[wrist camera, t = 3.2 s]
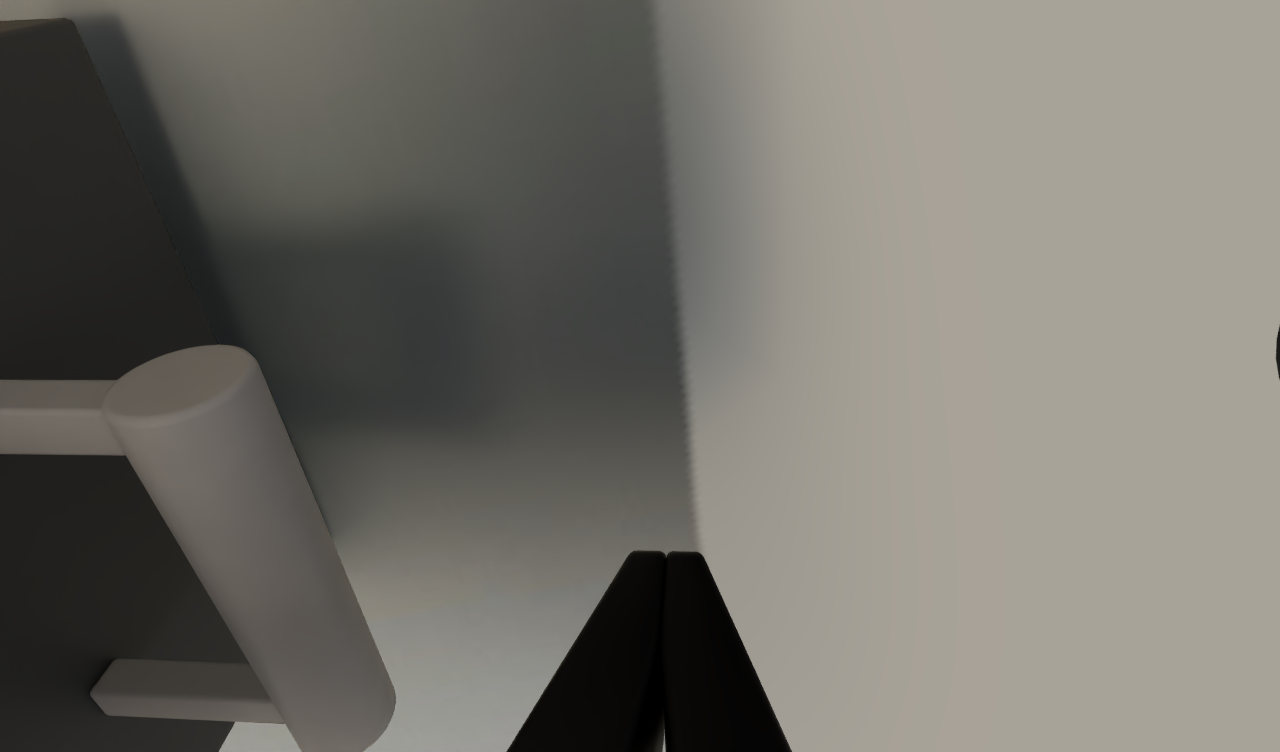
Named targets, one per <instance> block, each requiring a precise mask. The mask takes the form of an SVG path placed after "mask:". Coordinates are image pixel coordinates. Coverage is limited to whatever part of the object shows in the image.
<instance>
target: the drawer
mask: <svg viewBox="0 0 1280 752" xmlns="http://www.w3.org/2000/svg"><path fill="white" fill-rule="evenodd" d="M395 703H396V696H395V690H394V687H393V685H392V682H391V680H390V677H389V675H388V673H387V670H386V668H385V666H384V663H383V661H382V658H381V656H380V654H379V651H378V649H377V646H376V644H375V642H374V639H373V637H372V634H371V632H370V630H369V627H368V625H367V622H366V620H365V618H364V615H363V613H362V610H361V608H360V606H359V603H358V601H357V598H356V596H355V594H354V591H353V589H352V587H351V584H350V582H349V579H348V577H347V575H346V572H345V570H344V567H343V565H342V563H341V560H340V558H339V555H338V553H337V551H336V548H335V546H334V543H333V541H332V539H331V536H330V534H329V531H328V529H327V527H326V524H325V522H324V520H323V517H322V515H321V512H320V510H319V508H318V505H317V503H316V500H315V498H314V496H313V493H312V491H311V488H310V486H309V484H308V481H307V479H306V476H305V474H304V472H303V469H302V467H301V464H300V462H299V460H298V457H297V455H296V453H295V450H294V448H293V445H292V443H291V441H290V438H289V436H288V433H287V431H286V429H285V426H284V424H283V421H282V419H281V417H280V414H279V412H278V409H277V407H276V405H275V402H274V400H273V397H272V395H271V393H270V390H269V388H268V386H267V383H266V381H265V378H264V376H263V374H262V371H261V369H260V366H259V364H258V362H257V360H256V359H255V358H254V357H253V356H252V355H251V354H250V353H249V352H248V351H246V350H244V349H242V348H239V347H236V346H231V345H218V343H217V341H216V339H215V336H214V334H213V332H212V330H211V327H210V325H209V323H208V321H207V318H206V316H205V314H204V312H203V310H202V307H201V305H200V303H199V301H198V298H197V296H196V294H195V292H194V289H193V287H192V285H191V283H190V281H189V278H188V276H187V274H186V272H185V269H184V267H183V265H182V263H181V260H180V258H179V256H178V254H177V251H176V249H175V247H174V245H173V243H172V240H171V238H170V236H169V234H168V231H167V229H166V227H165V225H164V222H163V220H162V218H161V216H160V214H159V211H158V209H157V207H156V205H155V202H154V200H153V198H152V196H151V193H150V191H149V189H148V187H147V184H146V182H145V180H144V178H143V176H142V173H141V171H140V169H139V167H138V164H137V162H136V160H135V158H134V155H133V153H132V151H131V149H130V147H129V144H128V142H127V140H126V138H125V135H124V133H123V131H122V129H121V126H120V124H119V122H118V120H117V117H116V115H115V113H114V111H113V109H112V106H111V104H110V102H109V100H108V97H107V95H106V93H105V91H104V88H103V86H102V84H101V82H100V79H99V77H98V75H97V73H96V71H95V68H94V66H93V64H92V62H91V59H90V57H89V55H88V53H87V50H86V48H85V46H84V44H83V42H82V39H81V37H80V35H79V33H78V30H77V28H76V26H75V24H74V23H73V21H72V20H69V19H66V18H58V19H36V20H15V21H0V752H219V750H220V748H221V746H222V744H223V743H224V741H225V739H226V737H227V736H228V734H229V732H230V730H231V729H232V727H233V725H234V723H235V722H254V723H275V724H286V726H287V727H288V729H289V731H290V733H291V734H292V736H293V738H294V739H295V741H296V743H297V744H298V746H299V748H300V749H301V750H302V752H362V751H364V750H366V749H367V748H368V747H370V746H371V745H372V744H373V743H374V742H375V741H376V740H377V739H378V738H379V737H380V736H381V735H382V734H383V732H384V731H385V730H386V728H387V726H388V725H389V723H390V720H391V718H392V715H393V712H394V709H395Z"/></svg>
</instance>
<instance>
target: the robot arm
mask: <svg viewBox="0 0 1280 752" xmlns="http://www.w3.org/2000/svg"><path fill="white" fill-rule="evenodd" d="M664 729H665V747H666V752H792V751H791V749H790V746H789V744H788V742H787V740H786V738H785V735H784V733H783V731H782V729H781V727H780V724H779V722H778V720H777V718H776V715H775V713H774V711H773V709H772V707H771V704H770V702H769V700H768V698H767V696H766V693H765V691H764V689H763V687H762V685H761V682H760V680H759V678H758V676H757V673H756V671H755V669H754V667H753V665H752V662H751V660H750V658H749V656H748V654H747V651H746V649H745V647H744V645H743V643H742V640H741V638H740V636H739V634H738V631H737V629H736V627H735V625H734V623H733V620H732V618H731V616H730V614H729V612H728V609H727V607H726V605H725V603H724V601H723V598H722V596H721V594H720V592H719V590H718V587H717V585H716V583H715V581H714V579H713V576H712V574H711V572H710V570H709V567H708V565H707V563H706V561H705V559H704V557H703V556H702V554H700V553H699V552H681V551H672V552H670V553H668V555H667V558H666V555H665V554H664V553H663V552H661V551H639V550H637V551H633V552H631V553H630V554H629V555H628V557H627V558H626V560H625V561H624V563H623V565H622V566H621V568H620V569H619V571H618V573H617V574H616V576H615V578H614V579H613V581H612V582H611V584H610V586H609V587H608V589H607V590H606V592H605V594H604V595H603V597H602V599H601V600H600V602H599V603H598V605H597V607H596V608H595V610H594V611H593V613H592V615H591V616H590V618H589V619H588V621H587V623H586V624H585V626H584V628H583V629H582V631H581V632H580V634H579V636H578V637H577V639H576V640H575V642H574V644H573V645H572V647H571V649H570V650H569V652H568V653H567V655H566V657H565V658H564V660H563V661H562V663H561V665H560V666H559V668H558V670H557V671H556V673H555V674H554V676H553V678H552V679H551V681H550V682H549V684H548V686H547V687H546V689H545V691H544V692H543V694H542V695H541V697H540V699H539V700H538V702H537V703H536V705H535V707H534V708H533V710H532V711H531V713H530V715H529V716H528V718H527V720H526V721H525V723H524V724H523V726H522V728H521V729H520V731H519V732H518V734H517V736H516V737H515V739H514V741H513V742H512V744H511V745H510V747H509V749H508V750H507V752H662V751H663V742H664Z"/></svg>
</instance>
